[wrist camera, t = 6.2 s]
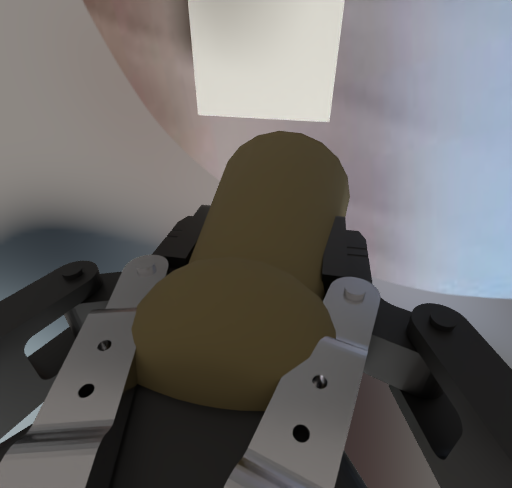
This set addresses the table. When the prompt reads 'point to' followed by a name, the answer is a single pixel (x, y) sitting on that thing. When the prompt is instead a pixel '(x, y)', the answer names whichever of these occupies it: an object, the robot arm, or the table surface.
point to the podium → (265, 57)
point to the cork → (247, 280)
